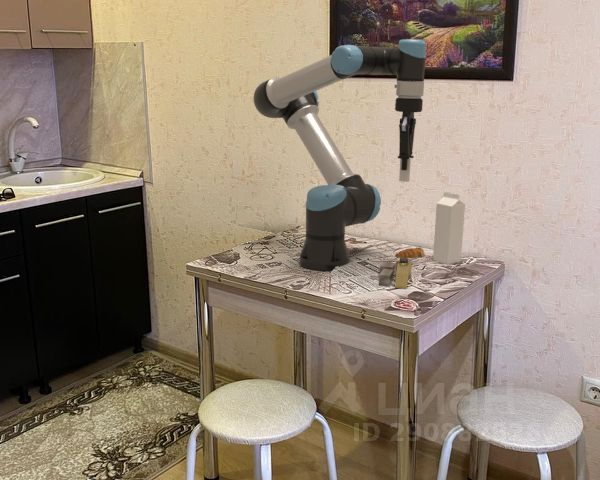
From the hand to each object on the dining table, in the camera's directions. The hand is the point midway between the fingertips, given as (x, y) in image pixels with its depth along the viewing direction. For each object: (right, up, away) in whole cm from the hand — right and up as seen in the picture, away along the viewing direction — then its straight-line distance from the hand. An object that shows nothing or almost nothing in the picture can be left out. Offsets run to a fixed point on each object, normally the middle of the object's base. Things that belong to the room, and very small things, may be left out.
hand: (404, 181), depth 190 cm
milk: (+15, -25, +12) cm, 31 cm away
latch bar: (-2, -28, -10) cm, 30 cm away
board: (-1, -28, -5) cm, 29 cm away
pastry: (+5, -23, +16) cm, 29 cm away
